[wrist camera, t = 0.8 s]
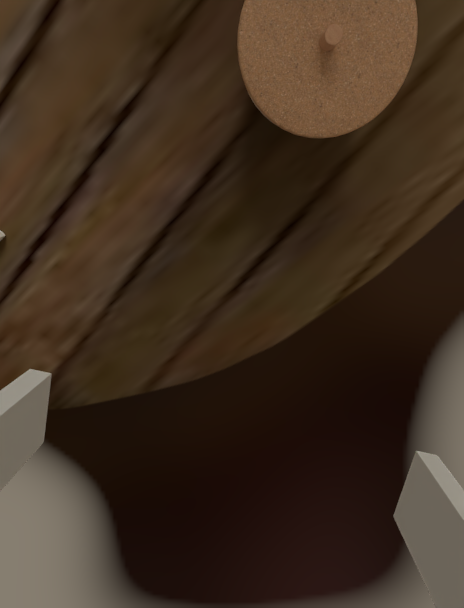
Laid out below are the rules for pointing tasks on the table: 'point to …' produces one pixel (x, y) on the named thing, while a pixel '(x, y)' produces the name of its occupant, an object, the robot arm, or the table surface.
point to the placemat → (1, 235)
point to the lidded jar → (325, 60)
